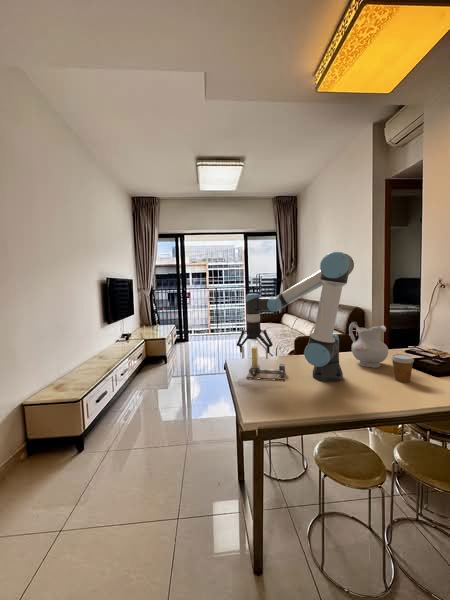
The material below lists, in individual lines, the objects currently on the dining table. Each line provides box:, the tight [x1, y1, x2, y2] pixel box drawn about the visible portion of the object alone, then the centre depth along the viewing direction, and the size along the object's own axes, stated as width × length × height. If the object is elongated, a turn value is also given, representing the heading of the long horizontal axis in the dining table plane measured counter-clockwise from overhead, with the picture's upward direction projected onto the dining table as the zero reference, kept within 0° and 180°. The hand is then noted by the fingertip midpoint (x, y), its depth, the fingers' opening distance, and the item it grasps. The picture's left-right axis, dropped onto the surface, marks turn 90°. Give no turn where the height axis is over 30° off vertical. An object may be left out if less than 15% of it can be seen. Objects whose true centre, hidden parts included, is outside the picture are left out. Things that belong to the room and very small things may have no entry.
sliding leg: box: [249, 346, 261, 375], centre depth 149 cm, size 5×9×14 cm, turn 165°
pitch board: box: [246, 363, 286, 381], centre depth 147 cm, size 20×12×6 cm, turn 75°
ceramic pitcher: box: [348, 321, 389, 369], centre depth 158 cm, size 22×20×25 cm
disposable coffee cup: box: [390, 353, 415, 383], centre depth 132 cm, size 10×10×12 cm
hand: (254, 358), depth 151 cm, fingers open, 13 cm apart
